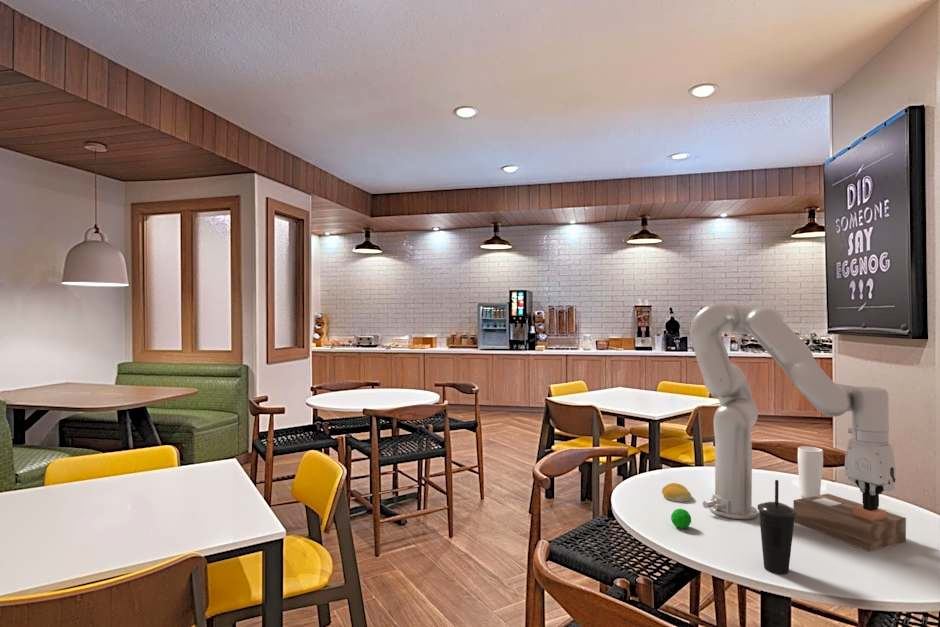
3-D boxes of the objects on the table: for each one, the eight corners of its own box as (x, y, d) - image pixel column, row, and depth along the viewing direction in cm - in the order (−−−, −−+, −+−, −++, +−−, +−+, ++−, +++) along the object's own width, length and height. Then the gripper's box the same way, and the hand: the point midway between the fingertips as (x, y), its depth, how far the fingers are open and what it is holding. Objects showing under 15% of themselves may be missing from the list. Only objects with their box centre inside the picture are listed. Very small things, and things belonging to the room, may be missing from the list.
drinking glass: (827, 501, 171) (828, 451, 171) (805, 501, 171) (805, 451, 171) (814, 493, 178) (814, 446, 177) (792, 493, 178) (793, 446, 178)
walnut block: (869, 551, 136) (869, 526, 136) (793, 521, 154) (793, 500, 154) (905, 541, 141) (905, 517, 141) (828, 514, 160) (828, 493, 160)
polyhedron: (674, 522, 154) (674, 505, 154) (693, 526, 151) (693, 508, 151) (668, 528, 150) (668, 510, 150) (688, 532, 147) (688, 514, 147)
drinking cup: (804, 574, 124) (804, 483, 124) (776, 579, 122) (776, 487, 122) (776, 559, 131) (776, 474, 131) (749, 564, 129) (749, 476, 129)
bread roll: (665, 502, 171) (665, 489, 171) (660, 492, 179) (660, 480, 179) (694, 503, 169) (694, 490, 169) (687, 494, 178) (687, 481, 178)
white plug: (829, 521, 150) (829, 506, 150) (811, 514, 154) (811, 500, 154) (842, 518, 152) (842, 503, 151) (824, 512, 156) (824, 497, 156)
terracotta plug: (873, 529, 139) (873, 513, 139) (852, 522, 144) (852, 506, 144) (885, 526, 141) (886, 510, 141) (865, 519, 146) (865, 504, 146)
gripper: (831, 431, 148) (831, 502, 148) (892, 444, 134) (893, 521, 134) (850, 429, 151) (850, 498, 151) (912, 441, 137) (912, 516, 137)
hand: (870, 508), depth 142 cm, fingers closed
